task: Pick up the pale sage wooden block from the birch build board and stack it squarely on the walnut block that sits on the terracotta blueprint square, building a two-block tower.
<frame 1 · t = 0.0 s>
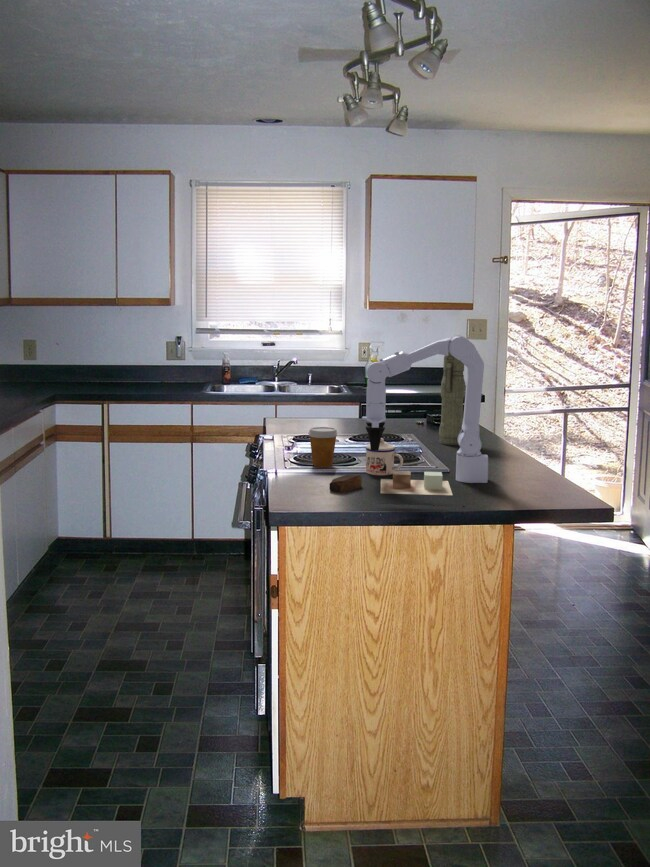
hand: (374, 447, 260), 10 cm above the table, fingers open, 7 cm apart
walnut block: (401, 486, 251), point 1 cm above the table, touching build board
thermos: (450, 443, 326), on the table
teacup with lid: (384, 476, 269), on the table
disposable coffee cup: (322, 466, 283), on the table
sage block: (432, 487, 250), point 1 cm above the table, touching build board
build board: (415, 490, 251), on the table
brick: (345, 493, 247), on the table
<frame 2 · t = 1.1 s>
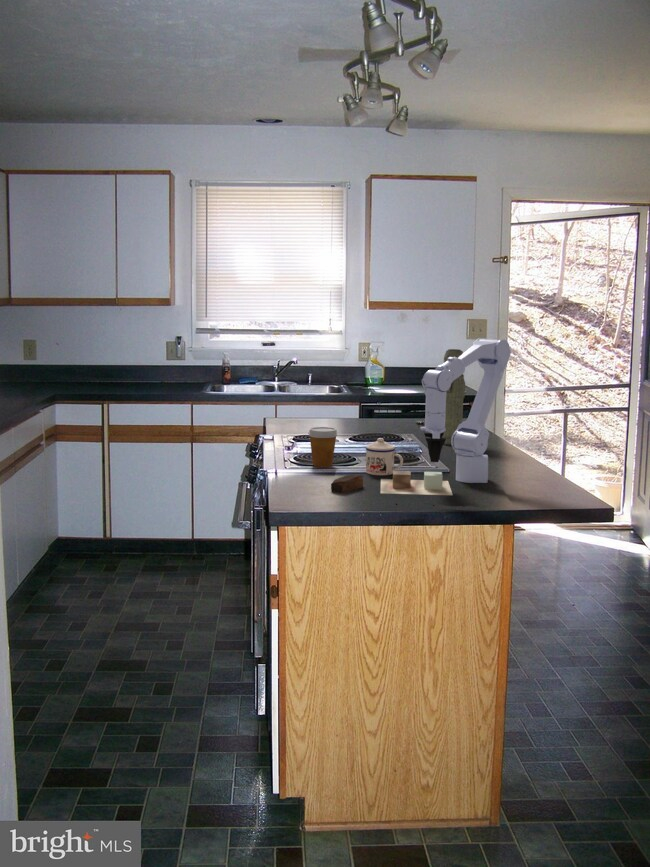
hand: (433, 459, 249), 9 cm above the table, fingers open, 7 cm apart
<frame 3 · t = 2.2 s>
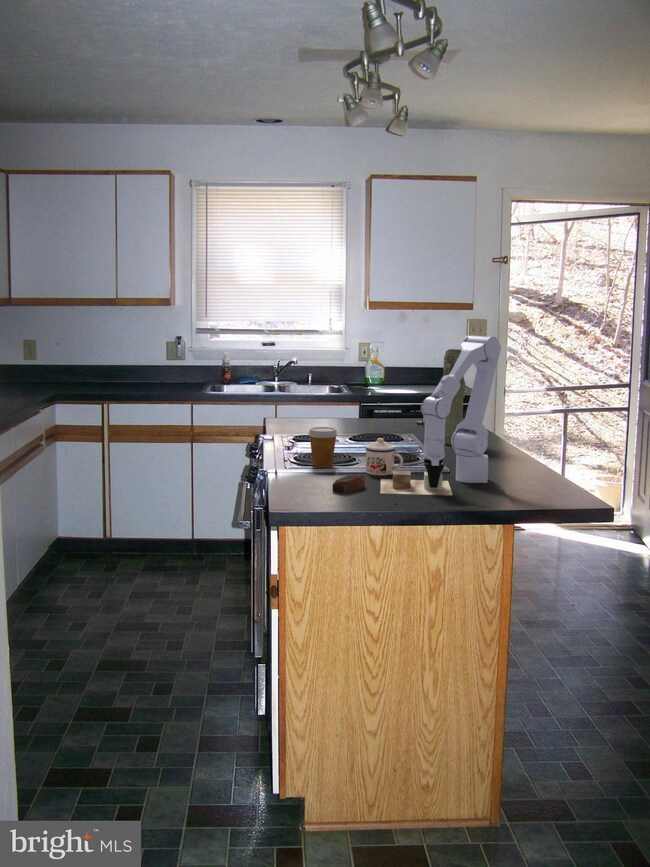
hand: (432, 485, 250), 2 cm above the table, fingers closed on sage block, 5 cm apart
sage block: (432, 487, 250), point 1 cm above the table, touching build board, gripper
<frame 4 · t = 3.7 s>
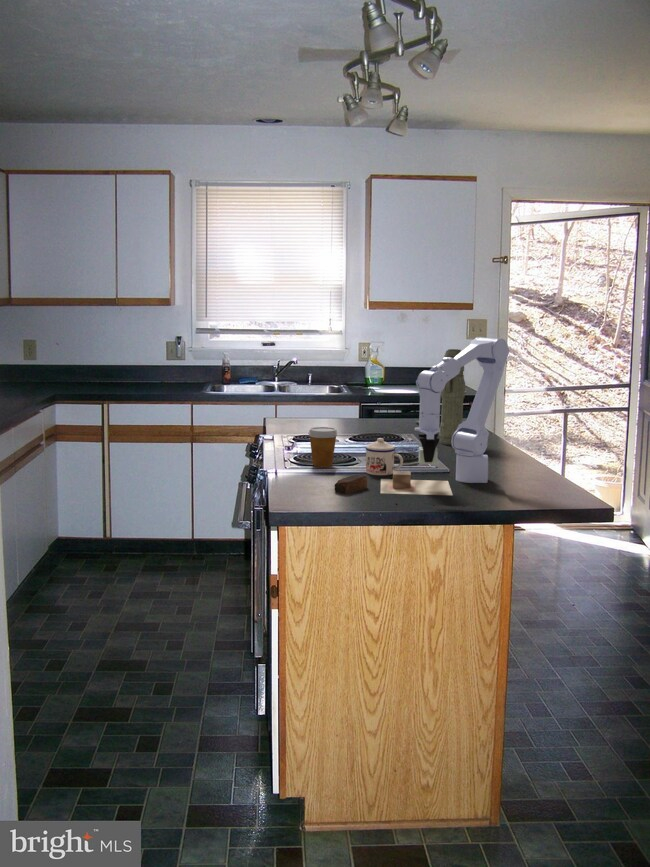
hand: (427, 460, 249), 9 cm above the table, fingers closed on sage block, 5 cm apart
sage block: (427, 462, 249), point 8 cm above the table, touching gripper
when the fingers open (7 cm above the table, at t = 5.0 s): sage block stays where it is, resting on walnut block.
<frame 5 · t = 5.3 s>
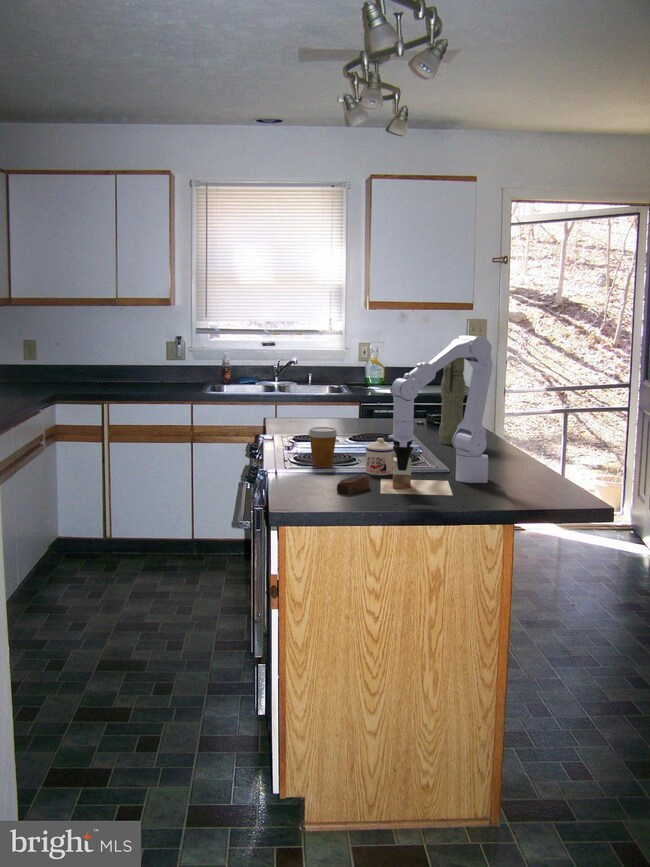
hand: (402, 467, 250), 7 cm above the table, fingers open, 7 cm apart
walnut block: (401, 486, 251), point 1 cm above the table, touching build board, sage block
sage block: (402, 472, 250), point 5 cm above the table, touching walnut block
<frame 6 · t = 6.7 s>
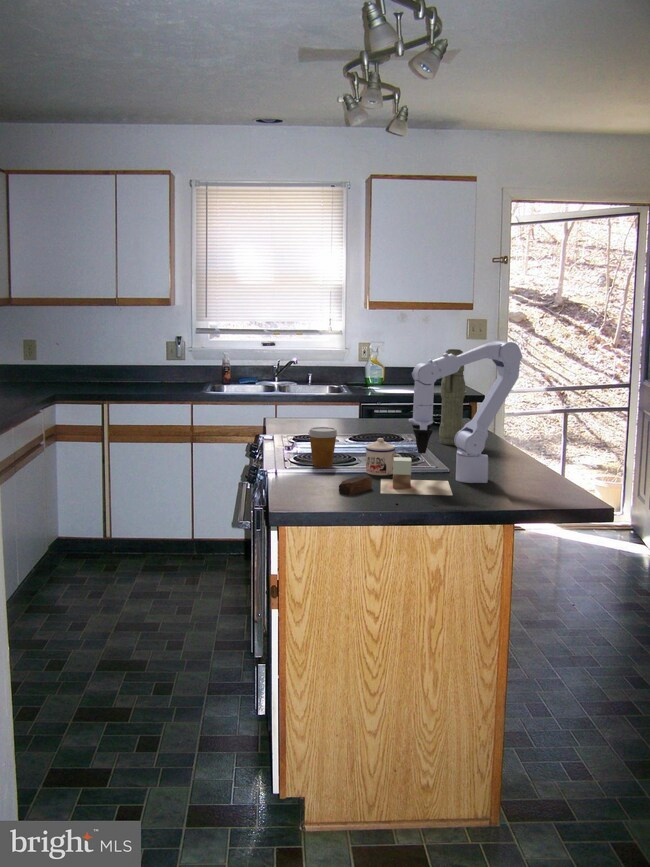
hand: (421, 450, 255), 10 cm above the table, fingers open, 7 cm apart
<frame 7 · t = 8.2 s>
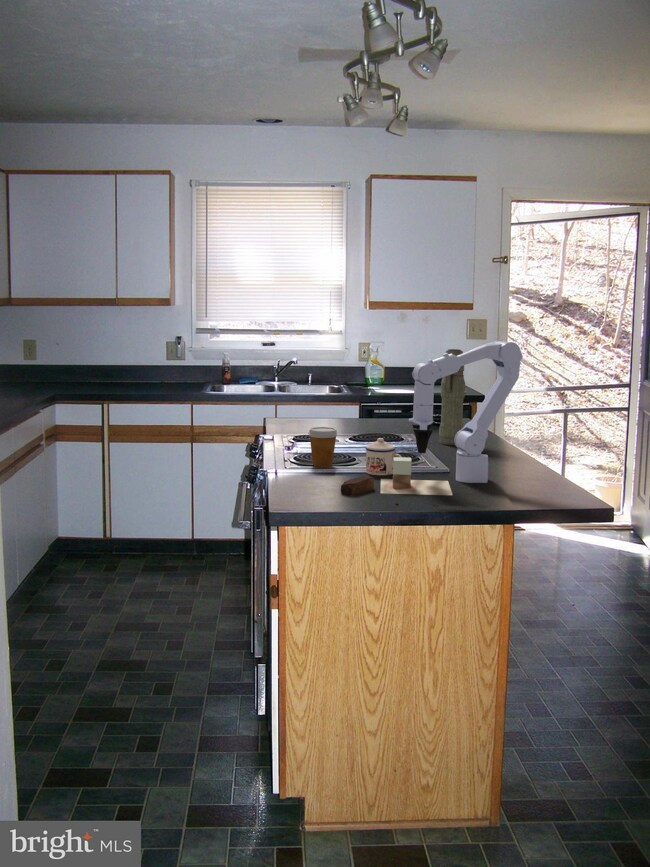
hand: (421, 450, 255), 10 cm above the table, fingers open, 7 cm apart
at the end: sage block 0.1 cm off-centre on the walnut block, point 4.0 cm above the walnut block's base; sage block tilted 0°; walnut block moved 0.0 cm from its start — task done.
